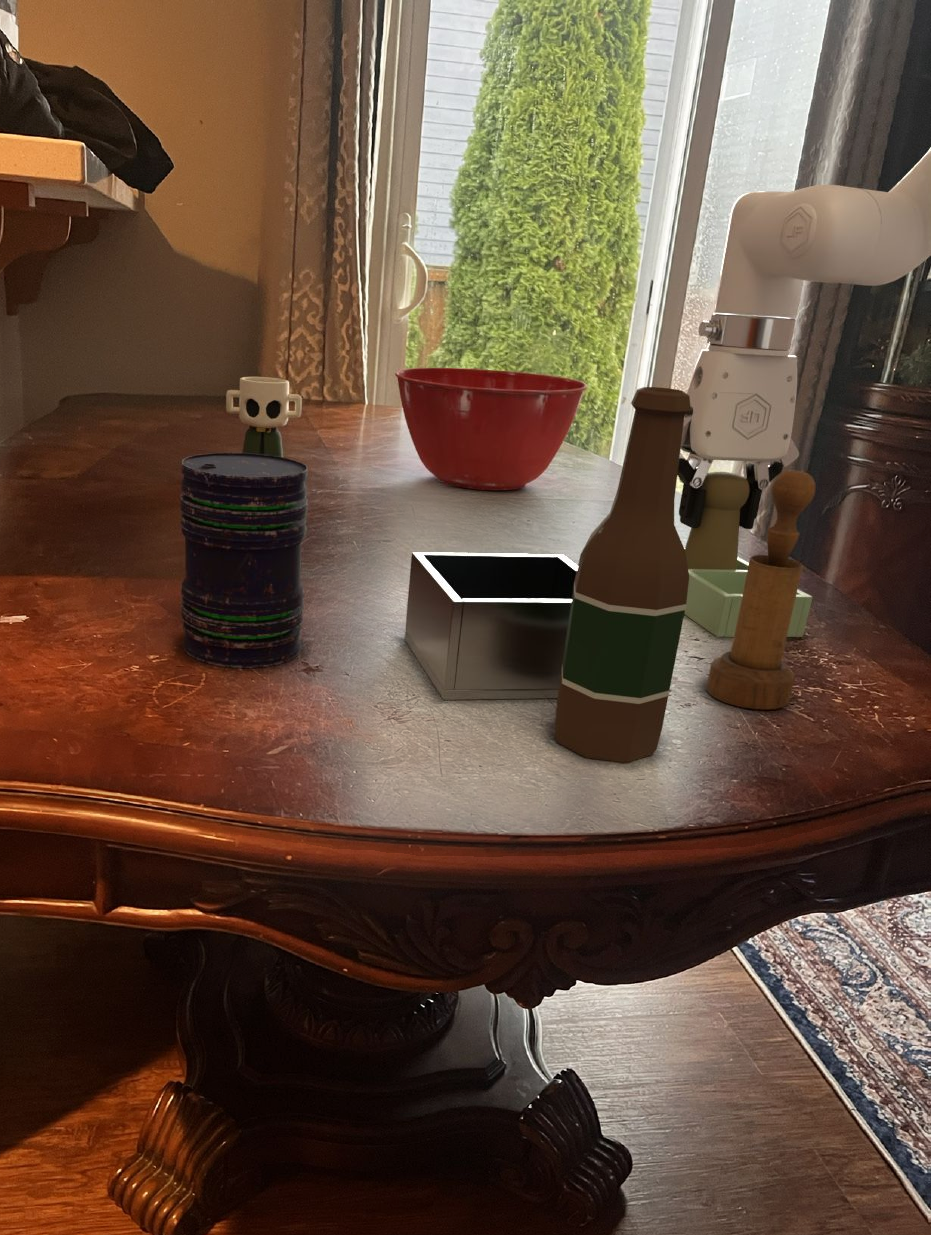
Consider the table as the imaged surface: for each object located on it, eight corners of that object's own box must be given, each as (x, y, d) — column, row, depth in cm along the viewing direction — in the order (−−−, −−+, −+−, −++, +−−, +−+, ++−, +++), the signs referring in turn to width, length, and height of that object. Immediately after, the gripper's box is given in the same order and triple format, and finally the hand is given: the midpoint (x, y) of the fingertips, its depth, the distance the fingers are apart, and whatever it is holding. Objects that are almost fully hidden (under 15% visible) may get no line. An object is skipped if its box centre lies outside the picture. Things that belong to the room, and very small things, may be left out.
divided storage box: (715, 584, 116) (723, 548, 114) (803, 637, 100) (813, 596, 99) (639, 583, 114) (645, 547, 112) (716, 637, 98) (725, 596, 97)
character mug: (223, 472, 153) (224, 379, 147) (227, 463, 159) (228, 374, 154) (298, 477, 153) (302, 384, 148) (299, 468, 160) (302, 379, 155)
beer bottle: (572, 709, 79) (624, 378, 70) (673, 737, 76) (741, 393, 66) (531, 743, 73) (581, 385, 64) (639, 775, 70) (709, 401, 60)
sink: (551, 639, 94) (563, 554, 91) (610, 697, 82) (626, 602, 79) (404, 639, 91) (411, 551, 88) (443, 700, 79) (453, 601, 76)
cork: (667, 579, 109) (685, 471, 104) (687, 569, 113) (706, 465, 109) (724, 591, 106) (746, 480, 101) (743, 580, 110) (764, 474, 106)
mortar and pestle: (713, 674, 89) (759, 459, 82) (793, 691, 87) (847, 471, 79) (699, 698, 83) (746, 470, 76) (783, 717, 81) (841, 483, 74)
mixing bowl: (368, 488, 150) (375, 375, 144) (408, 457, 176) (415, 360, 170) (566, 510, 145) (582, 395, 139) (577, 475, 171) (591, 376, 165)
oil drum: (276, 623, 93) (281, 451, 87) (321, 661, 85) (330, 475, 79) (166, 633, 89) (163, 453, 82) (203, 674, 81) (202, 478, 75)
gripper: (686, 334, 95) (654, 533, 102) (853, 344, 99) (810, 535, 106) (651, 330, 102) (623, 516, 109) (808, 339, 105) (771, 519, 112)
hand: (716, 523), depth 107 cm, fingers closed on cork, 5 cm apart
